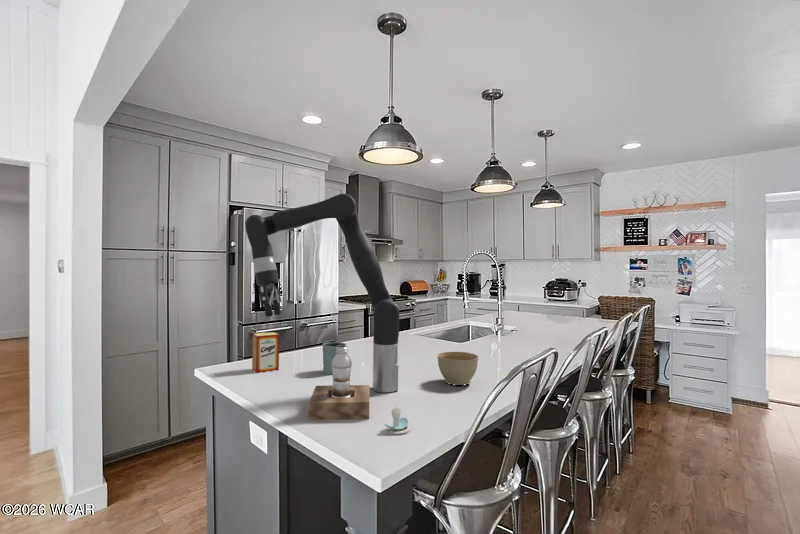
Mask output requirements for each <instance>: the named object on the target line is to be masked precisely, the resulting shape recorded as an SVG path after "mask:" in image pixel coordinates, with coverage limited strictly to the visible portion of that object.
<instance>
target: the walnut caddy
mask: <svg viewBox="0 0 800 534" xmlns="http://www.w3.org/2000/svg"><path fill="white" fill-rule="evenodd" d="M332 389H333V385H315V388H314V389H313V391H312V395H310V399H309V401H308V404H307V405H308V411H307V414H308V415H307V420H308V421H319V420H320V421H321V420H326V421H328V420H329V421H330V420H331V421H332V420H370V385H369V384H365V385H364V384H362V385H361V384H359V385H358V384H355V385H353V384H352V385H350V395H351V397H331V395H332Z"/></svg>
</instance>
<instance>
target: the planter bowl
mask: <svg viewBox="0 0 800 534" xmlns="http://www.w3.org/2000/svg"><path fill="white" fill-rule="evenodd" d="M478 361H479V355H477V354H476V353H471V352H468V351H467V352H465V351H444V352H443V351H442V352H440V353H438V354H437V363H438V368H439V371H440V374H441V375H442V377H443V378H444V380H445V383H446V382H447V383H450V384H455V385H454V386H456V385H463V386H465V385H464V384H468V383H469V384H470V383H471V380H472V378H473V377H474V376H475V373H476V371H477V368H478ZM447 383H446V384H447ZM450 384H449V385H450ZM469 384H468V385H469Z"/></svg>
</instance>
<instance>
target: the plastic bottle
mask: <svg viewBox="0 0 800 534" xmlns="http://www.w3.org/2000/svg"><path fill="white" fill-rule="evenodd" d="M336 353H337V354H336V355H335V357H334V358H333V360H332V373H333V374H332V386H333V389H332V395H331V397H351V395H350V383H351V382H350V381H351V380H350V379H351V372H352V365H353V361H352V359H351V357H350V356H349V355H348V353H349V351H348V345H346V346H345V345H339V346H336Z"/></svg>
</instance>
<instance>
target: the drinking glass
mask: <svg viewBox="0 0 800 534" xmlns="http://www.w3.org/2000/svg"><path fill="white" fill-rule="evenodd" d="M339 345H345V346H347V344H346V343H345V342H342V341H341V342H339V341H332V342H331V341H329V342H324V343H322V360H323V361H322V365H323V368H322V371H323V373H324V374H325V373H326V374H325V375H333V373H332V360H333V358H334V357H335V355H336V354H337V353H336V346H339Z"/></svg>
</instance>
